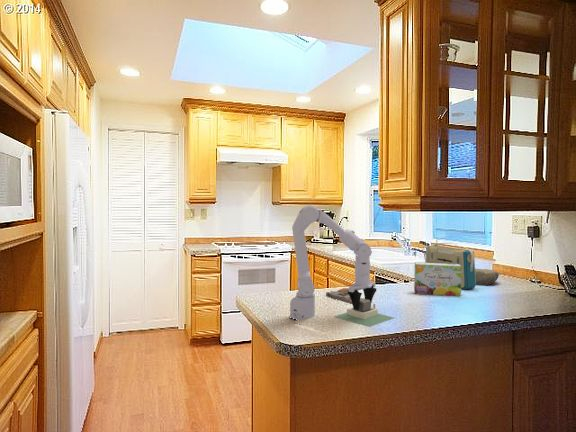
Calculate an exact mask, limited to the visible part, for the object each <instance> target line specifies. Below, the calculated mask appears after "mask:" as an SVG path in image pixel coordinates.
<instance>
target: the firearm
mask: <svg viewBox="0 0 576 432" xmlns="http://www.w3.org/2000/svg"><path fill="white" fill-rule="evenodd" d="M348 290H349V287H348V288H347V287H343V288H340V289H338V290H334V291H333V290H330V292H329V291H326V292H325V296H326V297H328V298H330V297H331V299H333V298H334V299H333V300H336V299H337V300H338V301H342V302H344V303H349V304H351V305H352V301H351V298H350V296H349V294H348Z"/></svg>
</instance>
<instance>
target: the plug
mask: <svg viewBox="0 0 576 432" xmlns="http://www.w3.org/2000/svg"><path fill="white" fill-rule="evenodd" d="M371 308H372V302H371V301H370V300H368V299H365V297H363V298H362V297H361V298H360V303H359V310H356V309H354V310H356V311H360V312H367V311H370V310H371Z"/></svg>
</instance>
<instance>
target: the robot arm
mask: <svg viewBox="0 0 576 432" xmlns="http://www.w3.org/2000/svg"><path fill="white" fill-rule="evenodd" d="M314 222H317V223H319V224H323V225H325V226H326V227H327V228H329V229H330V230H331V231H332V232H334V234H335V233H336V234H337V235H338V237H339V238H338V239H339V242H341V244H343V245H344V246H345V247H347V248H348V249H349V250H350V251H352V252H353V253H354V255H355V257H354V258H355V261H354V284H352V285H350V286H348V288H349V290H348V294H349V296H350V298H351V301H352V304H351V305H352V307H353V309H356V310H359V303H360V298H362V294H363V295H364V299H368V300H370V301H371V303H373V298H374V295H375V293H376V292H377V288H376V282H375V281H372V280H370V278H371V276H370V275H371V274H370V273H371V271H370V270H371V268H370V267H371V262H370V259H371V258H370V257H371V255H372V253H373V250H372V248H371V246H370V245H369V244H368V243H366V242H364V241H365V240H364V239H363V238H360V237H359V236H357V234H355V231H354V230H352V229H344V228H343V227H342V226H341V225H340V224H338V222H336V221H335V220H334V219H332V218H331V216H329V214H327V213H325V212H324V211H322V210H321V209H318V207H316V206H315V205H308V204H307V205H306V206H303V208H302V209H300V210H299V211H298V214H297V216H296V218H295V220H294V222H293V224H292V228H291V229H292V236H293V243H294V252H295V259H296V267H297V276H298V279H297V282H296V287H297V292H296V296H295V297H293V298H291V300H290V301H289V302H290V303H289V304H290V305H289V311H290V312H289V317H291V318H294V319H297V320H299V321H302V320H305V319H310V318H311V319H312V318H314V317H316V316H317V315H316V313H315V311H316V310H315V309H316V306H315V301H316V298H315V293H314V292H315V291H316V290H315V285H314V282H313V279H312V278H311V277H312V276H311V271H310V265H309V259H308V258H309V257H308V247H307V240H306V233H305V230H307V228H308V227H309V226H310V225H311V224H313V223H314ZM361 290H362V291H363V293H362V292H359V291H361ZM294 319H293V320H294ZM297 320H296V321H297Z"/></svg>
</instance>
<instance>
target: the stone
mask: <svg viewBox="0 0 576 432" xmlns="http://www.w3.org/2000/svg"><path fill="white" fill-rule="evenodd" d="M499 277H500V275H499V272H498V271H496V270H494V269H487V268H486V269H485V268H483V269H482V268H475V279H476V286H489V285H491V284H494V283H495V282H497V280H498V278H499Z"/></svg>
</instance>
